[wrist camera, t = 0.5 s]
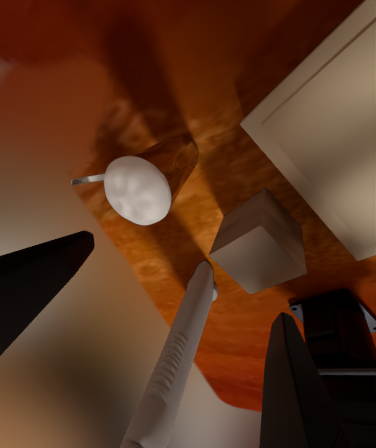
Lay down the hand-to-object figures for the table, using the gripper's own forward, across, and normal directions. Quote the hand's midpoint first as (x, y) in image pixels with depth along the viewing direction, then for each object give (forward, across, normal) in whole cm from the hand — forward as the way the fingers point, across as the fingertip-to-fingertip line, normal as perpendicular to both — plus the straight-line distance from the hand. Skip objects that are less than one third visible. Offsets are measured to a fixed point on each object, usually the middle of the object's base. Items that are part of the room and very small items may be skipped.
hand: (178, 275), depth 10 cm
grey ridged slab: (+13, -1, +16) cm, 21 cm away
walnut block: (+13, -4, +4) cm, 14 cm away
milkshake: (+12, +5, -1) cm, 14 cm away
